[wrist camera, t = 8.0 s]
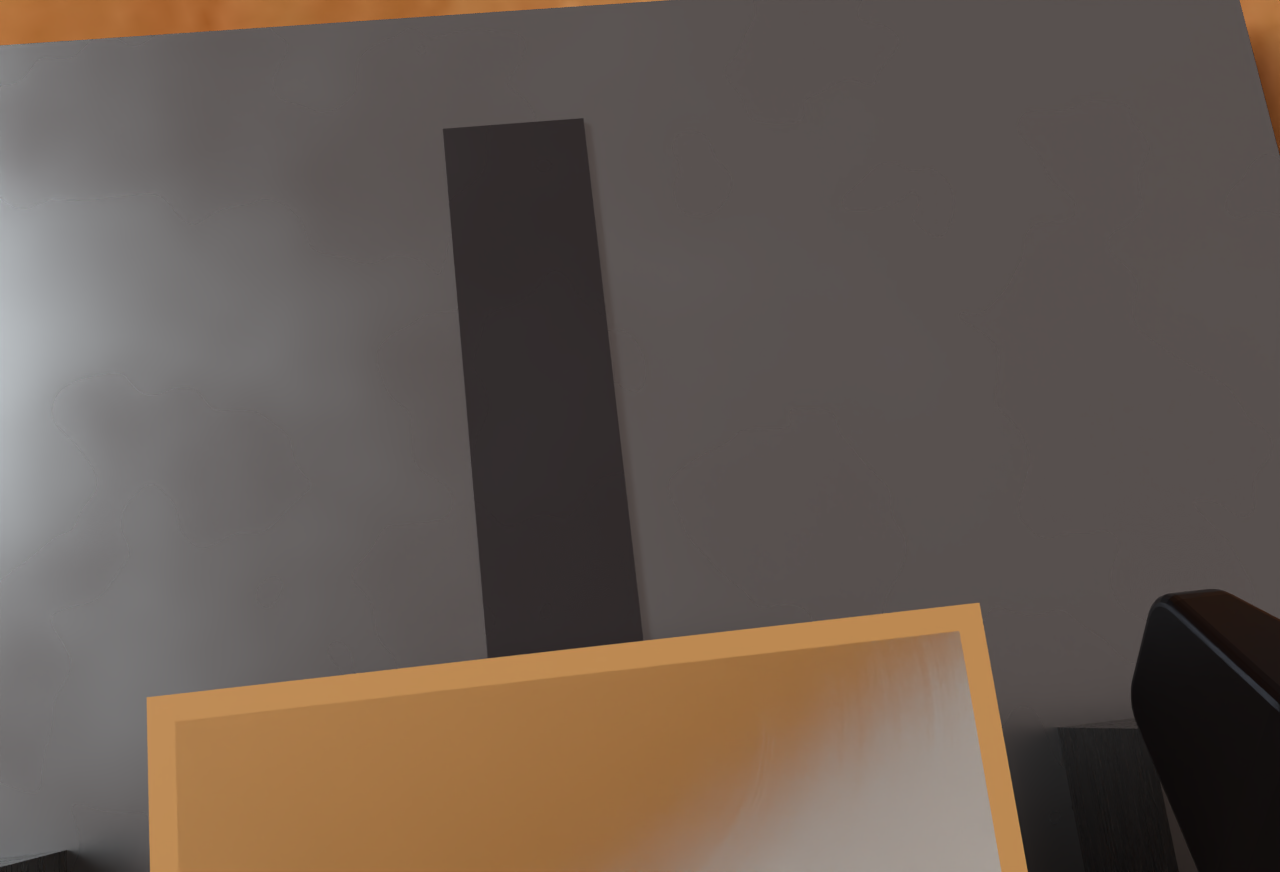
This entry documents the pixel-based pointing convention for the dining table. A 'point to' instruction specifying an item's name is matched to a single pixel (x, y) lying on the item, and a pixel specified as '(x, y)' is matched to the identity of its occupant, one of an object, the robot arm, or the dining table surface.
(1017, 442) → the plate
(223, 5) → the dining table surface
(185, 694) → the handle
